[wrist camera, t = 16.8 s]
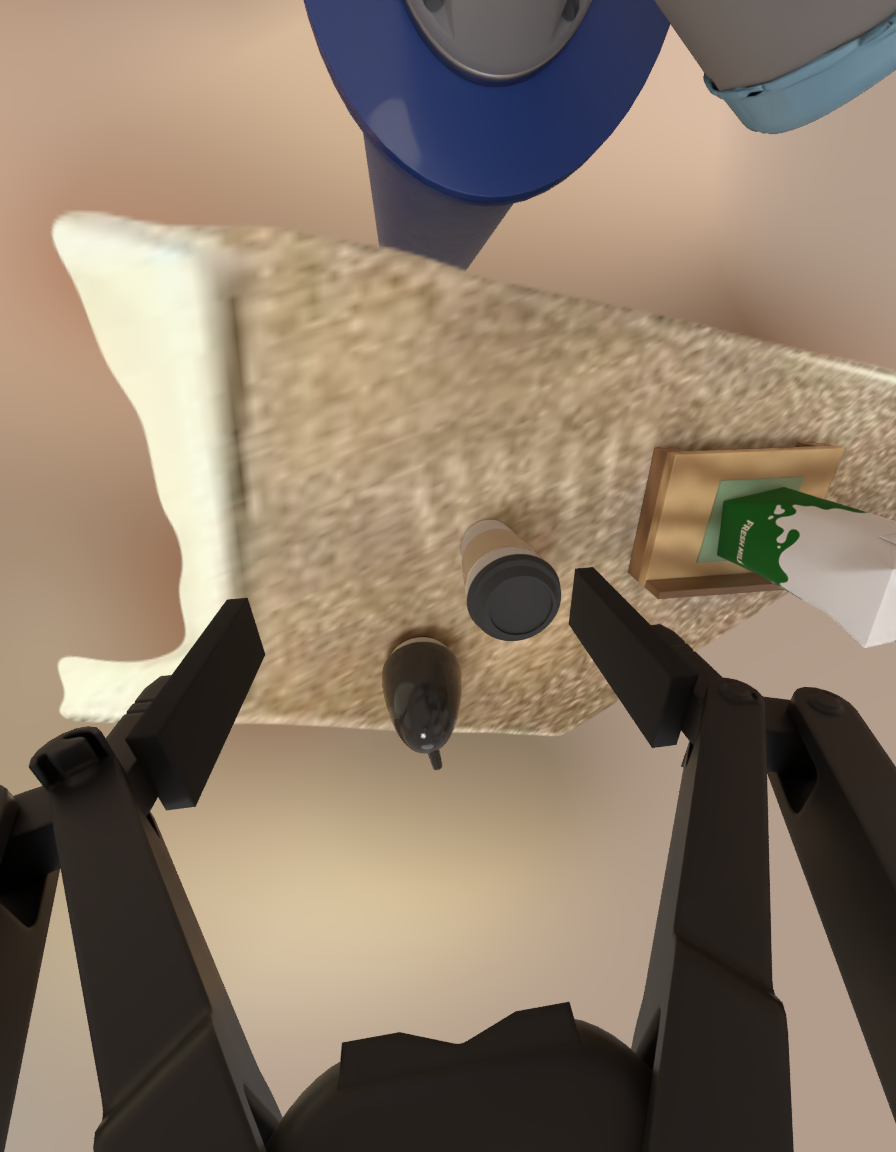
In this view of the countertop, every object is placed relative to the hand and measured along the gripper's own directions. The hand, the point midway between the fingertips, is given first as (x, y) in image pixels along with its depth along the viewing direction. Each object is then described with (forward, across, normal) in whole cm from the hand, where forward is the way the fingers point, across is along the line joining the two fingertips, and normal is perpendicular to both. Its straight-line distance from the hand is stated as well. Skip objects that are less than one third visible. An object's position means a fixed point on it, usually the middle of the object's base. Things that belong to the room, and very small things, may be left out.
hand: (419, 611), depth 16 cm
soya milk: (+27, +39, -9) cm, 48 cm away
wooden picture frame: (+31, +38, -9) cm, 50 cm away
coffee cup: (+31, +9, -11) cm, 34 cm away
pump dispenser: (+31, 0, -27) cm, 41 cm away
